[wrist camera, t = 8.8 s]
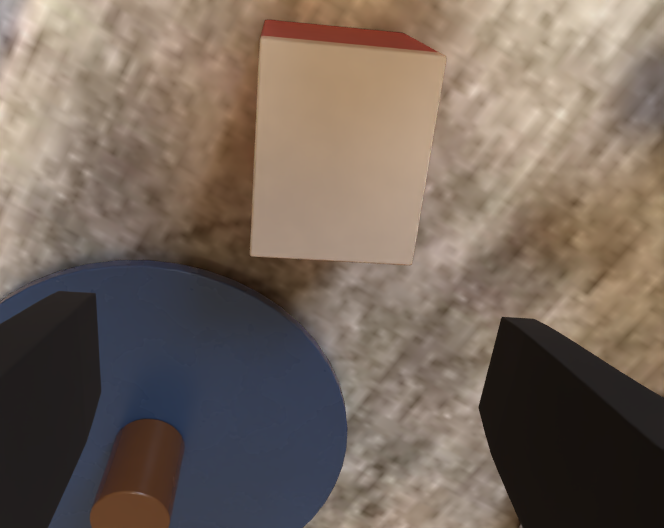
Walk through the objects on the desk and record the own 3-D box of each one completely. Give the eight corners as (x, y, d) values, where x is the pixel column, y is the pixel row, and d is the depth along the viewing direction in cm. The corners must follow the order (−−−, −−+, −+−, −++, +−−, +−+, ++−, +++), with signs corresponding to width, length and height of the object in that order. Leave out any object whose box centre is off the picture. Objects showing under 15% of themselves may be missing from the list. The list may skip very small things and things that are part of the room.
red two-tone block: (382, 198, 20) (412, 266, 16) (256, 189, 20) (249, 257, 15) (405, 32, 18) (447, 55, 13) (264, 18, 17) (259, 37, 13)
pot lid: (326, 558, 27) (335, 663, 23) (-19, 556, 25) (-75, 669, 21) (365, 263, 21) (386, 335, 17) (-81, 238, 19) (-176, 310, 15)
